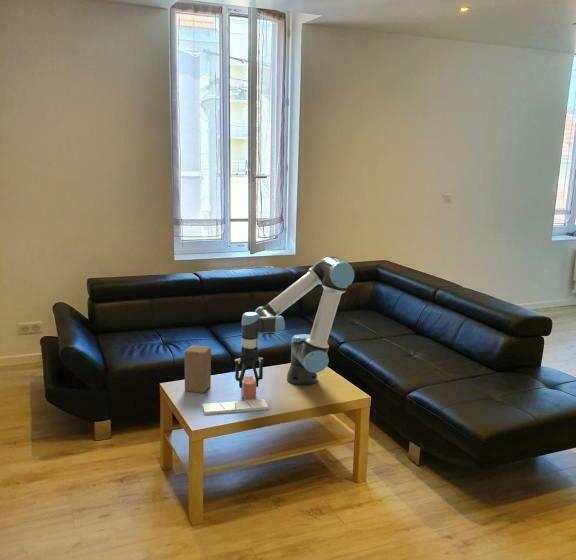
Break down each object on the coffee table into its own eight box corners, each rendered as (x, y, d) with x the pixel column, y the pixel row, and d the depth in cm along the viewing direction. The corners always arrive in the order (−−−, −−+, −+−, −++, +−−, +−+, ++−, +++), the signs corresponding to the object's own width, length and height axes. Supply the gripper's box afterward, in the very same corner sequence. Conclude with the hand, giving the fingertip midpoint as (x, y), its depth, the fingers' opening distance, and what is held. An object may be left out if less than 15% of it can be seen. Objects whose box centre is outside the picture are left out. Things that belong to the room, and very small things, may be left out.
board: (264, 401, 263) (264, 399, 262) (268, 409, 255) (268, 406, 255) (202, 406, 256) (202, 403, 255) (204, 414, 248) (204, 411, 248)
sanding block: (251, 392, 273) (252, 376, 271) (255, 400, 264) (256, 383, 262) (241, 392, 271) (241, 376, 270) (245, 400, 263) (245, 384, 261)
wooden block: (204, 393, 269) (204, 353, 264) (183, 391, 271) (183, 351, 266) (211, 385, 278) (211, 346, 274) (191, 383, 280) (191, 344, 276)
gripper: (267, 342, 268) (265, 389, 273) (228, 344, 264) (227, 391, 269) (270, 347, 261) (269, 395, 266) (231, 349, 256) (230, 398, 262)
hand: (248, 393), depth 267 cm, fingers closed on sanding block, 5 cm apart
